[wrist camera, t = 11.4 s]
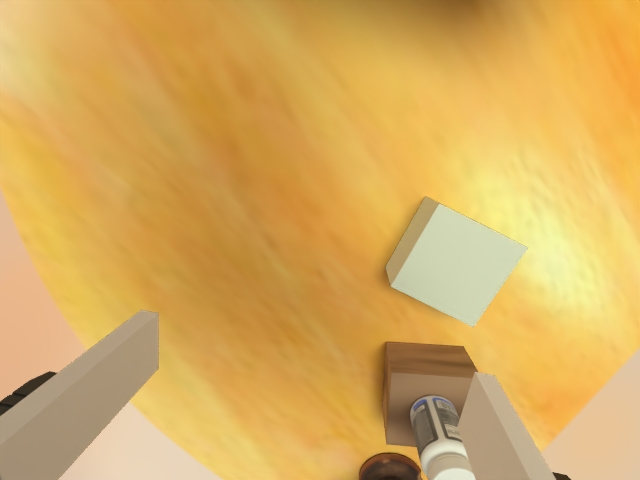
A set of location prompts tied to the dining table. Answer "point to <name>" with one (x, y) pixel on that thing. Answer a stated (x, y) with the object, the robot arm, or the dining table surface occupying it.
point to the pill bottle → (439, 440)
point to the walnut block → (421, 383)
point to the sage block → (452, 262)
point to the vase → (390, 468)
